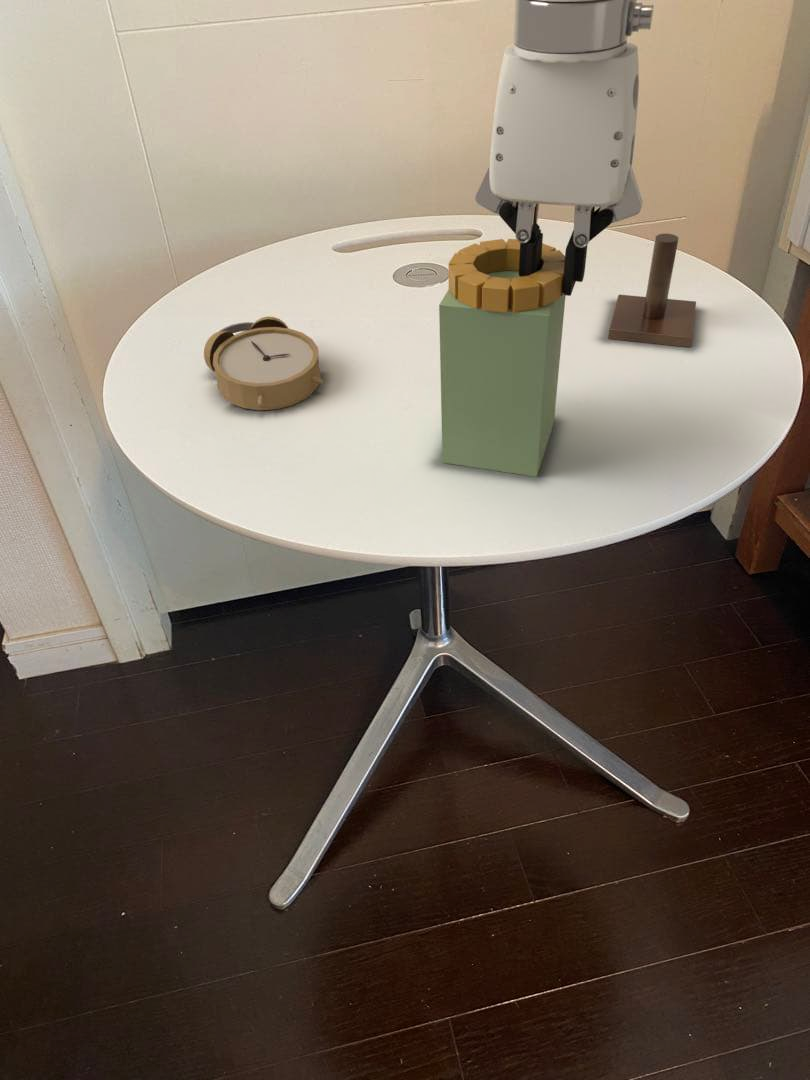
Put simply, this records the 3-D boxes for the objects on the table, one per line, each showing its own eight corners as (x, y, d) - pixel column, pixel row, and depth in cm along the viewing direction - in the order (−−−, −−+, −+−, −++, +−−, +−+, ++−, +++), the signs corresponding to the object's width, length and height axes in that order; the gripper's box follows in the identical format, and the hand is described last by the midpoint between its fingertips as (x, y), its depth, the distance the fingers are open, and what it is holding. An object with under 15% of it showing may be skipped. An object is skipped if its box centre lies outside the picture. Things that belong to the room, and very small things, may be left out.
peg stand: (694, 310, 96) (712, 224, 89) (690, 347, 90) (708, 258, 83) (617, 303, 98) (628, 219, 91) (607, 338, 92) (619, 251, 85)
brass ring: (574, 266, 70) (576, 243, 68) (554, 318, 63) (556, 293, 62) (466, 257, 72) (466, 235, 71) (436, 306, 65) (435, 282, 64)
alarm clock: (241, 400, 80) (181, 320, 88) (246, 436, 84) (188, 357, 92) (339, 365, 85) (273, 291, 92) (339, 401, 88) (277, 327, 96)
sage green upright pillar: (554, 422, 80) (568, 267, 69) (536, 477, 74) (549, 315, 63) (466, 411, 82) (466, 259, 72) (442, 462, 76) (438, 304, 65)
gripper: (699, 14, 54) (655, 275, 67) (467, 13, 59) (466, 259, 71) (693, 39, 49) (646, 317, 62) (439, 36, 53) (443, 297, 66)
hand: (550, 284), depth 66 cm, fingers closed on brass ring, 2 cm apart
